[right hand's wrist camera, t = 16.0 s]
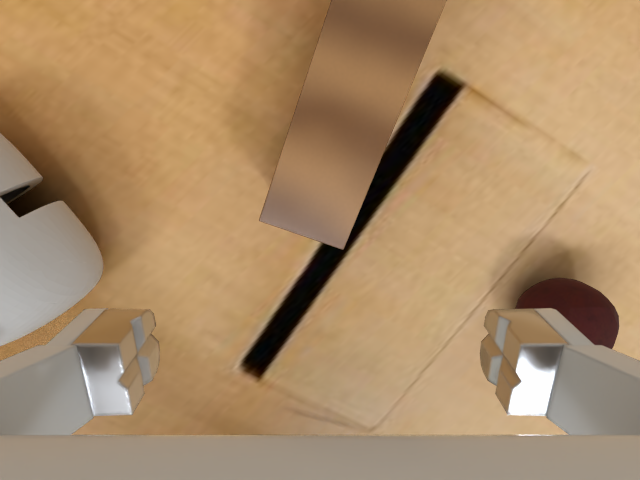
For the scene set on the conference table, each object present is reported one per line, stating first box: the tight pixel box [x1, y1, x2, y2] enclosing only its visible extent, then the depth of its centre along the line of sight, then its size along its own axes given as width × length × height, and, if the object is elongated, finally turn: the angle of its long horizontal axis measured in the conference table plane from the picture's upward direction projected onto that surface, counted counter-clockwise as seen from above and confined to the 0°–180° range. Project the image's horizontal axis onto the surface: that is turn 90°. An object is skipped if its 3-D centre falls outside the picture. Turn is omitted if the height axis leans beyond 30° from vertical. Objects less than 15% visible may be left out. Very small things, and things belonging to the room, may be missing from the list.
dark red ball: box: [515, 278, 619, 349], centre depth 34 cm, size 7×8×7 cm
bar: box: [259, 0, 447, 249], centre depth 27 cm, size 23×6×8 cm, turn 160°
